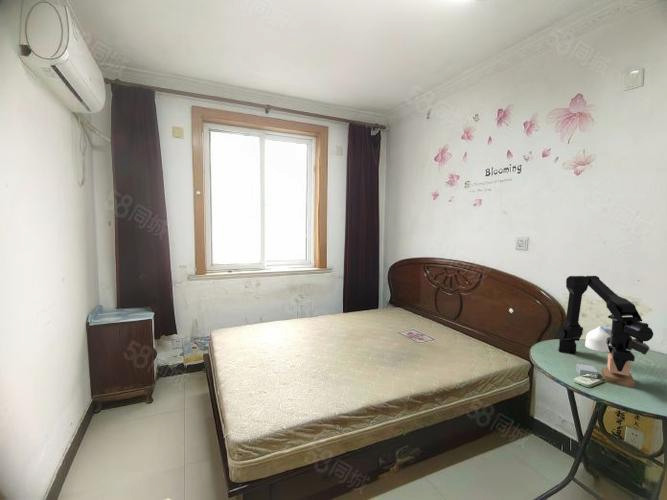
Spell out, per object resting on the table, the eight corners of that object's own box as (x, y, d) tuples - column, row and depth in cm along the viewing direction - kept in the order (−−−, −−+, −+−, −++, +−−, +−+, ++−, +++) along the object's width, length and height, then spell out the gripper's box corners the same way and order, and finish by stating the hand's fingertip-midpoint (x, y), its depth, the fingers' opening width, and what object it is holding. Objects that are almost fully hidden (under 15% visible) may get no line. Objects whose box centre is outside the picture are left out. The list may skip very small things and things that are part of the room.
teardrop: (618, 352, 156) (620, 329, 155) (593, 351, 157) (595, 328, 156) (603, 343, 167) (604, 322, 165) (580, 343, 168) (581, 321, 167)
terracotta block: (609, 372, 129) (610, 358, 128) (607, 366, 134) (608, 352, 133) (629, 375, 125) (630, 361, 125) (626, 369, 130) (627, 356, 130)
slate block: (579, 376, 134) (580, 369, 134) (576, 370, 139) (576, 363, 139) (597, 379, 131) (597, 372, 131) (593, 372, 137) (593, 366, 136)
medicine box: (617, 343, 167) (618, 327, 166) (622, 346, 163) (623, 330, 162) (599, 341, 169) (600, 326, 169) (603, 344, 165) (604, 329, 164)
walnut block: (604, 382, 129) (605, 375, 128) (601, 373, 136) (602, 367, 136) (634, 389, 124) (634, 381, 123) (629, 379, 131) (630, 372, 131)
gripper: (654, 343, 116) (651, 383, 117) (642, 328, 131) (639, 364, 132) (614, 337, 122) (612, 375, 123) (607, 324, 137) (604, 357, 139)
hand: (618, 368), depth 129 cm, fingers closed on terracotta block, 6 cm apart
